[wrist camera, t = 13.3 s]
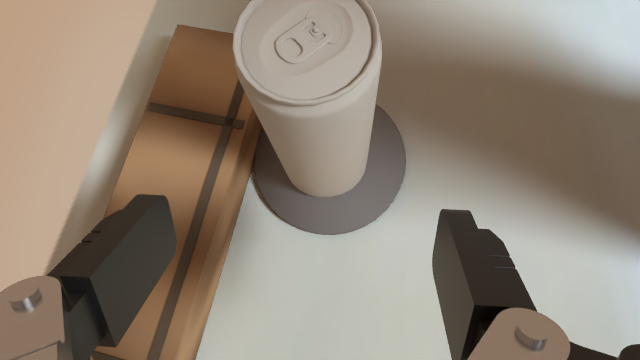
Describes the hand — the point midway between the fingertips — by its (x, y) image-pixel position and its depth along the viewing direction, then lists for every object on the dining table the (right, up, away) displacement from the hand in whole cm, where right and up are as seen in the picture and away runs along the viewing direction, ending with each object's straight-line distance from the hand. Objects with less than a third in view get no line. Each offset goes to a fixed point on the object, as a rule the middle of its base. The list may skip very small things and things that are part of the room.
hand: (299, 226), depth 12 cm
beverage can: (+1, +2, +12) cm, 12 cm away
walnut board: (-8, -2, +12) cm, 14 cm away
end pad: (+1, +3, +12) cm, 13 cm away
